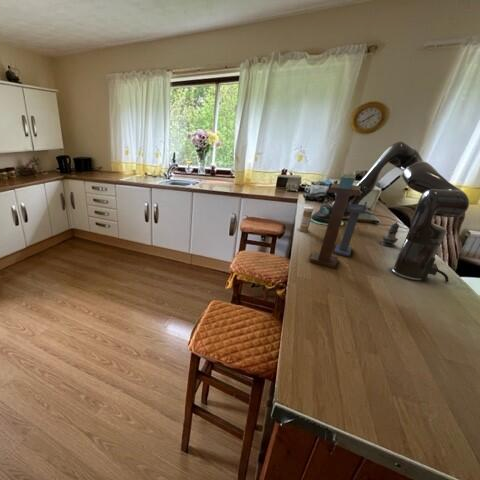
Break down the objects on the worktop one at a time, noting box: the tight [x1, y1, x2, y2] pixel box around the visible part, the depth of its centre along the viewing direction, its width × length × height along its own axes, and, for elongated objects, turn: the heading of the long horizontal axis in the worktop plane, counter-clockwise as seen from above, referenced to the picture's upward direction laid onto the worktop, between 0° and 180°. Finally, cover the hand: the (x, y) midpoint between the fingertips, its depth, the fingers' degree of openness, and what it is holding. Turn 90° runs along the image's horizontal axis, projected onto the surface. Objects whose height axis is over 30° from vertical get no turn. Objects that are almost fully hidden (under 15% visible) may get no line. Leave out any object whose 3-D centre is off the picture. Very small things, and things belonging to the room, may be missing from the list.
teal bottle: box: [338, 173, 357, 189], centre depth 99 cm, size 4×19×4 cm, turn 142°
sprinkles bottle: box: [298, 206, 314, 233], centre depth 141 cm, size 5×5×14 cm
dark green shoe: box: [310, 204, 344, 226], centre depth 160 cm, size 15×19×20 cm
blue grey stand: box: [333, 200, 368, 258], centre depth 114 cm, size 6×10×23 cm, turn 142°
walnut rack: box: [309, 182, 361, 269], centre depth 103 cm, size 9×10×32 cm
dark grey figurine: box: [380, 221, 400, 248], centre depth 124 cm, size 6×6×12 cm
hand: (347, 183), depth 108 cm, fingers open, 8 cm apart
